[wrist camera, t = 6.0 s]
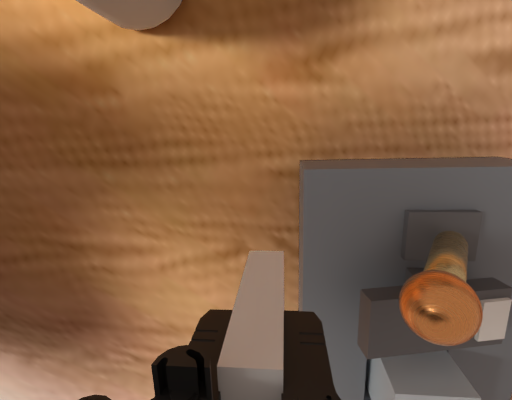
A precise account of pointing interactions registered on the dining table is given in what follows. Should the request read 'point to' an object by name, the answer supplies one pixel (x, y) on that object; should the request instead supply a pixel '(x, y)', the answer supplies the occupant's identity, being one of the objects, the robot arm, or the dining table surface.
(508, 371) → the console
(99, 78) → the dining table surface
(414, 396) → the button grey
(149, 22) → the can
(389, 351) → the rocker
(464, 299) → the toggle
